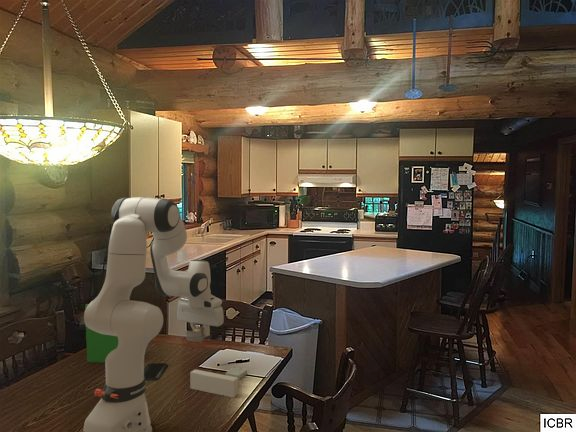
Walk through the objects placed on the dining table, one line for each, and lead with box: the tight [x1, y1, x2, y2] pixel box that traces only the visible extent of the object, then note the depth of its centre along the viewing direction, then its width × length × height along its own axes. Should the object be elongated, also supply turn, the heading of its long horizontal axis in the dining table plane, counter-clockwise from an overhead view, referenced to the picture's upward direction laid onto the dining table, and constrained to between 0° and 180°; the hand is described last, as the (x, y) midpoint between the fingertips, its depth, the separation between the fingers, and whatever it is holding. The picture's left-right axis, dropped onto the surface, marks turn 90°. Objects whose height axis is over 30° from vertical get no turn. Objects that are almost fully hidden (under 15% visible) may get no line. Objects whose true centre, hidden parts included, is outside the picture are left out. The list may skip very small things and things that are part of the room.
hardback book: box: [84, 303, 118, 363], centre depth 202 cm, size 18×7×24 cm, turn 85°
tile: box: [224, 366, 248, 380], centre depth 187 cm, size 6×6×2 cm
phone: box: [144, 362, 168, 382], centre depth 189 cm, size 8×1×15 cm
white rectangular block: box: [189, 368, 239, 399], centre depth 175 cm, size 9×18×6 cm, turn 66°
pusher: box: [185, 324, 211, 344], centre depth 194 cm, size 9×7×4 cm
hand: (200, 334), depth 193 cm, fingers closed on pusher, 3 cm apart
